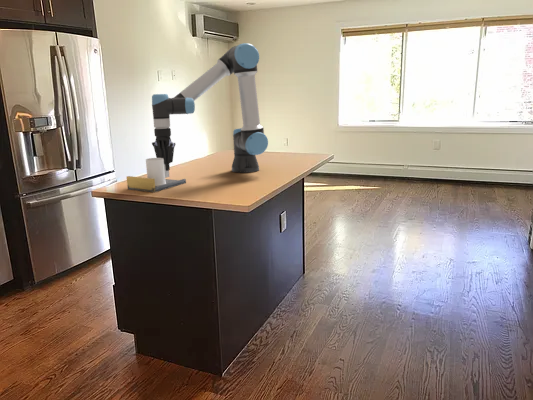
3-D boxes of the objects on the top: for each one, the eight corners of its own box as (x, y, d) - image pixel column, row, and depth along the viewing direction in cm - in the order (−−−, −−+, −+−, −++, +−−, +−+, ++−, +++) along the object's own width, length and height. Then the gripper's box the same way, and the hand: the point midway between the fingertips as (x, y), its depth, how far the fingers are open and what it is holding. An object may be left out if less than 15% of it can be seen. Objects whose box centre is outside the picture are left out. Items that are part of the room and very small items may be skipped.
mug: (154, 181, 210) (152, 156, 207) (171, 181, 209) (169, 156, 206) (144, 186, 199) (142, 160, 196) (162, 186, 198) (160, 160, 195)
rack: (186, 182, 209) (185, 170, 207) (153, 192, 190) (152, 179, 189) (161, 180, 217) (160, 168, 215) (127, 189, 198) (126, 176, 197)
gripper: (178, 127, 203) (181, 176, 208) (157, 126, 209) (161, 174, 215) (167, 128, 196) (171, 179, 202) (146, 128, 203) (150, 177, 208)
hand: (166, 177), depth 208 cm, fingers closed
